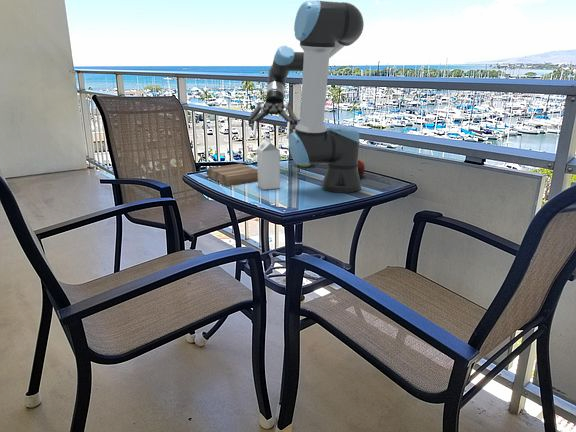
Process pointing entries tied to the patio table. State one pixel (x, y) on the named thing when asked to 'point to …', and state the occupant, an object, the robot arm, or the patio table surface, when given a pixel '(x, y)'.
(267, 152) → the milk carton
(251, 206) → the patio table surface
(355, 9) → the robot arm
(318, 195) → the patio table surface
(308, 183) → the patio table surface
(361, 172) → the fruit
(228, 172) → the brown flat block
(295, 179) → the patio table surface
